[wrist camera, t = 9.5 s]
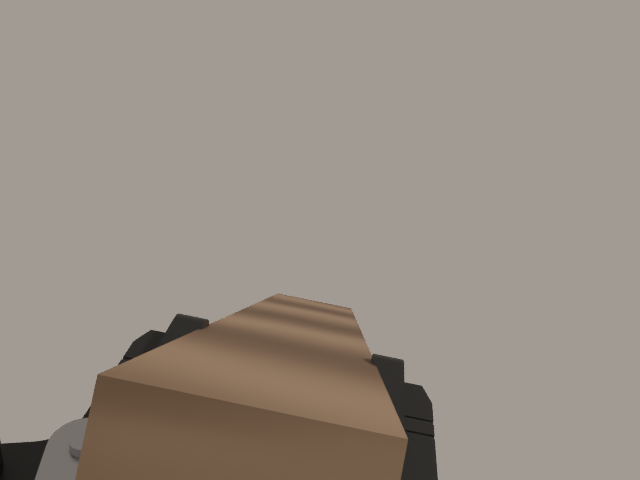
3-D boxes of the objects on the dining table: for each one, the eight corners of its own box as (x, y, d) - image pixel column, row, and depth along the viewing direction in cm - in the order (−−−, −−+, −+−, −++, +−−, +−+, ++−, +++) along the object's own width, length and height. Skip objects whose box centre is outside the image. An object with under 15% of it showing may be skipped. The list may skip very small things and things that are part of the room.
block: (262, 367, 31) (277, 293, 31) (336, 382, 31) (351, 308, 31) (28, 693, 7) (97, 373, 7) (346, 766, 7) (408, 439, 7)
